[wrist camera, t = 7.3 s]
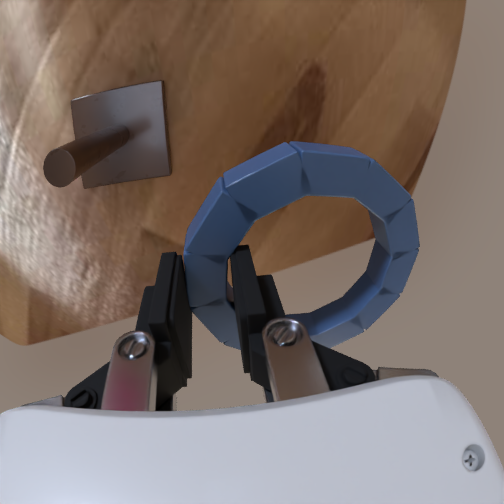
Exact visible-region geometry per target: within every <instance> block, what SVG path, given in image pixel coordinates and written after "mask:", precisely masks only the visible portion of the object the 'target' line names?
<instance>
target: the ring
mask: <svg viewBox="0 0 504 504" xmlns="http://www.w3.org/2000/svg"><path fill="white" fill-rule="evenodd" d="M223 176H224V178H223V177H219V178H218V180H217V181H216V183H215V185H214V186H213V188H212V189H211V191H210V193H209V194H208V196H207V197H206V199H205V201H204V202H203V204H202V206H201V207H200V209H199V210H198V212H197V214H196V215H195V217H194V219H193V220H192V222H191V224H190V225H189V227H188V229H187V234H186V238H185V247H184V266H185V279H186V290H187V296H188V301H189V306H190V310H191V311H192V312H193V313H194V314H195V315H196V317H197V318H198V319H199V320H200V321H201V322H202V323H203V324H204V325H205V326H206V328H207V329H208V330H209V331H210V332H211V333H212V334H213V335H214V336H215V337H216V338H217V339H218V340H219V341H220V342H221V343H222V342H223V343H224V345H226V346H230V347H233V348H236V349H239V350H241V348H240V342H239V335H238V328H237V321H236V314H235V306H234V296H233V288H232V287H231V285H230V284H229V283H228V281H227V271H228V259H229V257H230V256H231V255H232V253H233V252H234V250H235V249H236V248H237V246H238V245H239V243H240V242H241V241H242V239H243V238H244V236H245V235H246V233H247V232H248V231H249V229H250V228H251V226H252V225H253V224H254V222H255V221H256V220H258V219H260V218H262V217H264V216H266V215H268V214H270V213H272V212H274V211H276V210H278V209H280V208H282V207H284V206H286V205H288V204H290V203H292V202H294V201H296V200H298V199H300V198H302V197H304V196H329V197H347V198H354V199H355V200H357V201H358V202H359V203H360V204H362V205H363V206H364V207H365V208H367V209H368V212H369V215H370V219H371V223H372V226H373V230H374V234H375V238H376V240H375V244H374V247H373V250H372V253H371V257H370V260H369V263H368V266H367V270H366V271H365V273H364V274H363V275H362V276H361V277H360V278H359V279H358V281H357V282H356V283H355V284H354V285H353V286H352V287H351V288H350V289H349V290H348V292H346V293H345V295H344V296H343V297H341V298H339V299H338V300H335V301H333V302H331V303H329V304H327V305H325V306H323V307H321V308H319V309H317V310H315V311H312V312H310V313H301V314H289V315H285V316H286V317H289V318H294V319H296V320H298V321H300V322H301V323H303V324H304V325H305V327H306V328H307V330H308V333H309V336H310V338H311V340H312V341H314V342H316V343H319V344H321V345H323V346H325V347H328V348H332V347H334V346H336V345H338V344H340V343H342V342H344V341H346V340H348V339H350V338H352V337H355V336H357V335H359V334H360V333H363V332H364V329H366V330H367V329H368V328H369V327H370V326H371V325H372V324H373V323H374V322H375V321H376V320H377V319H378V318H379V317H380V316H381V315H382V314H383V313H384V312H385V311H386V310H387V309H388V308H389V307H390V306H391V305H392V304H393V303H394V302H395V300H397V299H398V298H399V297H400V295H399V293H402V292H403V289H404V287H405V285H406V282H407V280H408V277H409V275H410V272H411V270H412V267H413V265H414V262H415V260H416V257H417V254H418V251H419V249H418V248H419V247H420V244H419V236H418V228H417V220H416V213H415V207H414V201H413V199H411V196H410V194H409V193H408V192H407V191H406V190H405V189H404V188H403V187H402V186H401V185H400V184H399V183H398V182H397V181H396V180H395V179H394V178H393V177H392V176H391V175H390V174H389V173H388V172H387V171H386V170H385V169H384V168H383V167H382V166H380V165H379V164H378V163H377V162H376V161H375V160H374V159H372V158H370V157H368V156H367V155H365V154H363V153H361V152H359V151H358V150H355V149H353V148H351V147H344V146H335V145H327V144H317V143H307V142H295V141H291V142H290V143H289V144H288V143H286V142H284V143H282V144H280V145H278V146H276V147H274V148H271V149H269V150H267V151H265V152H263V153H261V154H259V155H257V156H255V157H253V158H251V159H249V160H247V161H245V162H243V163H241V164H239V165H238V166H236V167H234V168H232V169H230V170H228V171H226V172H224V173H223Z"/></svg>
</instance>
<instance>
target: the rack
mask: <svg viewBox="0 0 504 504" xmlns="http://www.w3.org/2000/svg"><path fill="white" fill-rule="evenodd" d="M71 109H72V118H73V127H74V134H75V140H74V141H72V142H70V143H67V144H65V145H63V146H60V147H58V148H56V149H54V150H52V151H51V152H49V153H48V155H47V156H46V158H45V161H44V166H43V170H44V174H45V177H46V179H47V180H48V182H49V183H50V184H52V185H53V186H56V187H65V186H67V185H68V184H70V183H71V182H72V181H74V180H75V179H76V178H78V177H79V176H80V175H81V176H82V181H83V186H84V189H87V188H92V187H98V186H103V185H109V184H115V183H121V182H127V181H134V180H141V179H148V178H155V177H163V176H170V175H171V173H172V169H171V160H170V151H169V141H168V130H167V119H166V106H165V92H164V81H162V80H160V81H153V82H147V83H142V84H136V85H131V86H126V87H121V88H117V89H112V90H108V91H104V92H100V93H96V94H92V95H88V96H84V97H81V98H77V99H74V100H71Z"/></svg>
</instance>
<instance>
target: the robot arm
mask: <svg viewBox="0 0 504 504" xmlns="http://www.w3.org/2000/svg"><path fill="white" fill-rule="evenodd" d="M230 261H231V273H232V285H233V296H234V306H235V314H236V321H237V328H238V335H239V342H240V348H241V355H242V362H243V368H244V373H250V376H251V381H254V382H256V383H257V384H259V385H261V386H262V387H263V394H264V399H265V403H264V404H256V405H248V406H240V407H230V408H219V409H206V410H190V411H176V403H177V402H176V401H177V400H176V399H177V397H176V392H177V391H178V390H179V389H181V388H182V387H186V386H187V378H192V311H191V310H190V306H189V301H188V296H187V290H186V279H185V271H184V265H183V260H182V255H177V253H176V252H168V253H162V256H161V260H160V264H159V269H158V273H157V278H156V283H155V286H146V287H145V290H144V294H143V298H142V302H141V306H140V311H139V315H138V320H137V325H136V329H135V331H130V332H128V333H125V334H123V335H122V336H121V337H119V338H118V340H117V341H116V342H115V345H114V347H113V351H112V355H111V359H110V361H109V362H108V363H107V364H105V365H104V366H102V367H101V368H100V369H98V370H97V371H96V372H94V373H93V374H92V375H90V376H89V377H87V378H86V379H84V380H83V381H82V382H80V383H79V384H77V385H76V386H75V387H73V388H72V389H71V390H70V391H69V392H68V394H67V396H66V397H63V396H62V395H59V396H56V397H52V398H49V399H45V400H41V401H37V402H34V403H29V404H25V405H22V406H21V407H18V408H14V409H10V410H7V411H5V412H3V413H1V414H0V504H504V469H503V466H502V464H501V462H500V460H499V457H498V455H497V453H496V451H495V448H494V446H493V444H492V442H491V440H490V438H489V436H488V433H487V431H486V430H485V428H484V426H483V424H482V422H481V421H480V419H479V418H478V416H477V414H476V412H475V411H474V409H473V407H472V406H471V404H470V403H469V402H468V400H467V399H466V398H465V396H464V395H463V394H462V392H461V391H460V390H459V389H458V388H457V387H456V386H455V385H454V384H452V383H451V382H449V381H448V380H445V379H443V378H439V377H438V376H437V374H436V373H434V372H432V371H431V370H426V369H404V368H383V367H378V370H372V369H371V368H370V367H369V366H368V365H366V364H364V363H363V362H360V361H358V360H355V359H353V358H351V357H348V356H346V355H343V354H341V353H339V352H337V351H334V350H332V349H330V348H328V347H325V346H323V345H321V344H319V343H316V342H314V341H312V340H311V338H310V336H309V333H308V330H307V328H306V327H305V325H304V324H303V323H301V322H300V321H298V320H296V319H294V318H289V317H286V316H285V313H284V310H283V307H282V304H281V301H280V298H279V295H278V292H277V289H276V286H275V283H274V280H273V277H272V275H262V276H256V272H255V268H254V264H253V260H252V256H251V253H250V249H249V245H240V246H237V248H236V249H235V250H234V252H233V253H232V255H231V256H230Z"/></svg>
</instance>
